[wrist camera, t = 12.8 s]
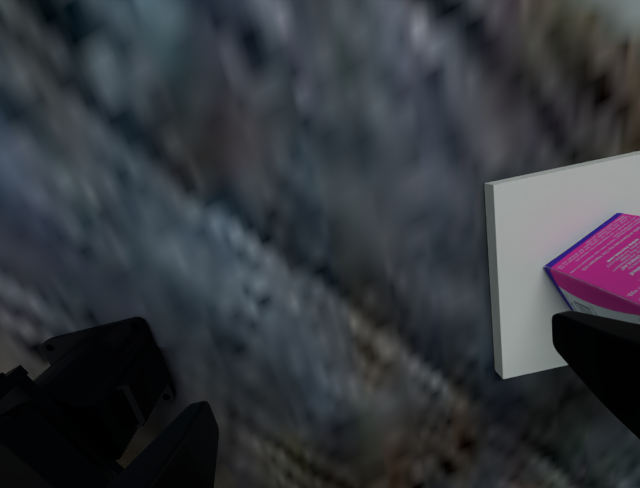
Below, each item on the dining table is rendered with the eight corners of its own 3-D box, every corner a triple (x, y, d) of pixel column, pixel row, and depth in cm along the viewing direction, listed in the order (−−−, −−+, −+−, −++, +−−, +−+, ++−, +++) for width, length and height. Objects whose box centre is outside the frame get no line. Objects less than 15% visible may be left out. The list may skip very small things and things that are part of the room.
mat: (495, 370, 24) (503, 379, 23) (484, 183, 21) (493, 184, 20) (675, 330, 25) (690, 337, 24) (697, 138, 21) (717, 137, 20)
